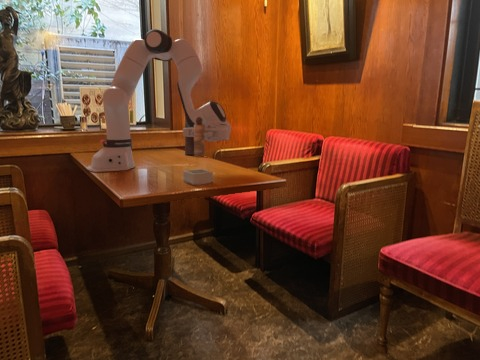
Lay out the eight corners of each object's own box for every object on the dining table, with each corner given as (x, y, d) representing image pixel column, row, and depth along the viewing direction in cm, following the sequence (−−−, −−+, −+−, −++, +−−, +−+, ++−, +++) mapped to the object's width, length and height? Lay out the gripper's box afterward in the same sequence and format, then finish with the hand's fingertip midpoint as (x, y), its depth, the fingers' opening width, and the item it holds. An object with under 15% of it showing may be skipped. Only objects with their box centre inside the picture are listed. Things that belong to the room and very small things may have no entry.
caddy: (193, 185, 148) (193, 174, 147) (183, 181, 156) (183, 170, 155) (212, 182, 153) (212, 172, 152) (201, 178, 161) (201, 168, 160)
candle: (193, 153, 233) (192, 121, 229) (199, 154, 228) (199, 122, 223) (182, 154, 229) (182, 121, 224) (188, 155, 223) (188, 122, 219)
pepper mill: (197, 156, 152) (197, 117, 149) (192, 155, 156) (191, 116, 152) (206, 155, 155) (206, 117, 151) (201, 154, 158) (201, 116, 155)
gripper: (190, 123, 168) (175, 125, 155) (232, 125, 161) (220, 127, 149) (191, 137, 169) (176, 140, 157) (232, 139, 163) (220, 143, 150)
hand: (198, 134), depth 153 cm, fingers closed on pepper mill, 4 cm apart
